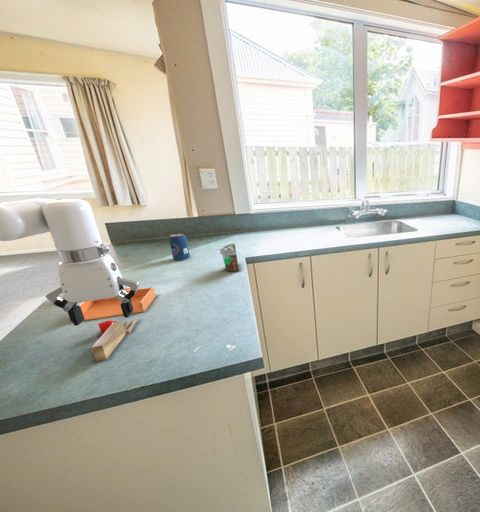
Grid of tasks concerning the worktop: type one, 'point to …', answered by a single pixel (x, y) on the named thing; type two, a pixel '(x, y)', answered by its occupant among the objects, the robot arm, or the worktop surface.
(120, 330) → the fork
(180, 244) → the soda can
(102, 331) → the strawberry
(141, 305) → the dustpan
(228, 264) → the food container
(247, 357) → the worktop surface
